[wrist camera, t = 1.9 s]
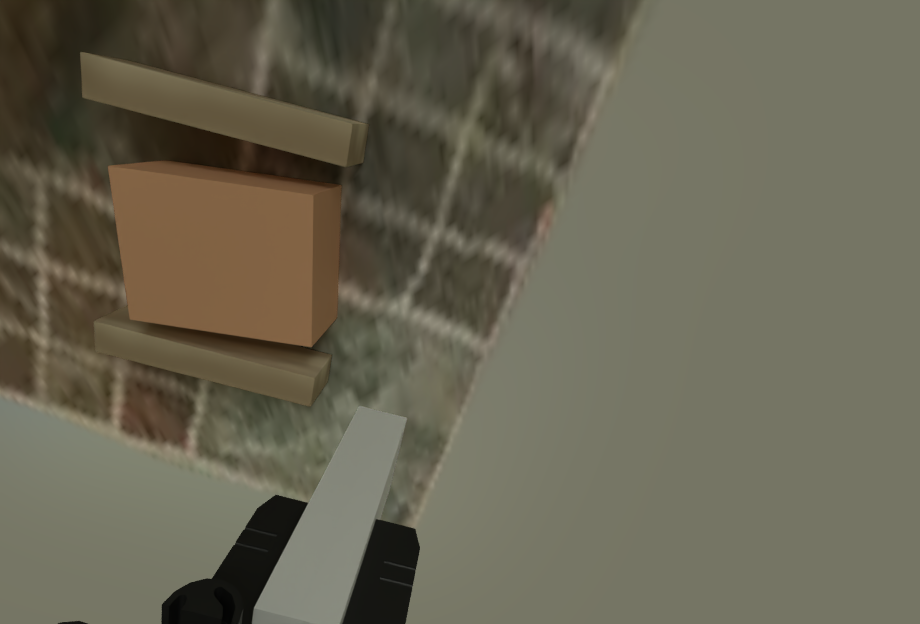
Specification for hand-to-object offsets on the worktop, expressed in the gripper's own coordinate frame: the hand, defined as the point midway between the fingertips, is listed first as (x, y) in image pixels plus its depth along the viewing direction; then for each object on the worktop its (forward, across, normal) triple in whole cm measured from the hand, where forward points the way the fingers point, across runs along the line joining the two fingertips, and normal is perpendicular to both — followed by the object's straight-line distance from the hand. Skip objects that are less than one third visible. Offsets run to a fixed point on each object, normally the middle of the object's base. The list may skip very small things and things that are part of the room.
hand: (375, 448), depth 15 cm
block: (+15, -11, 0) cm, 18 cm away
